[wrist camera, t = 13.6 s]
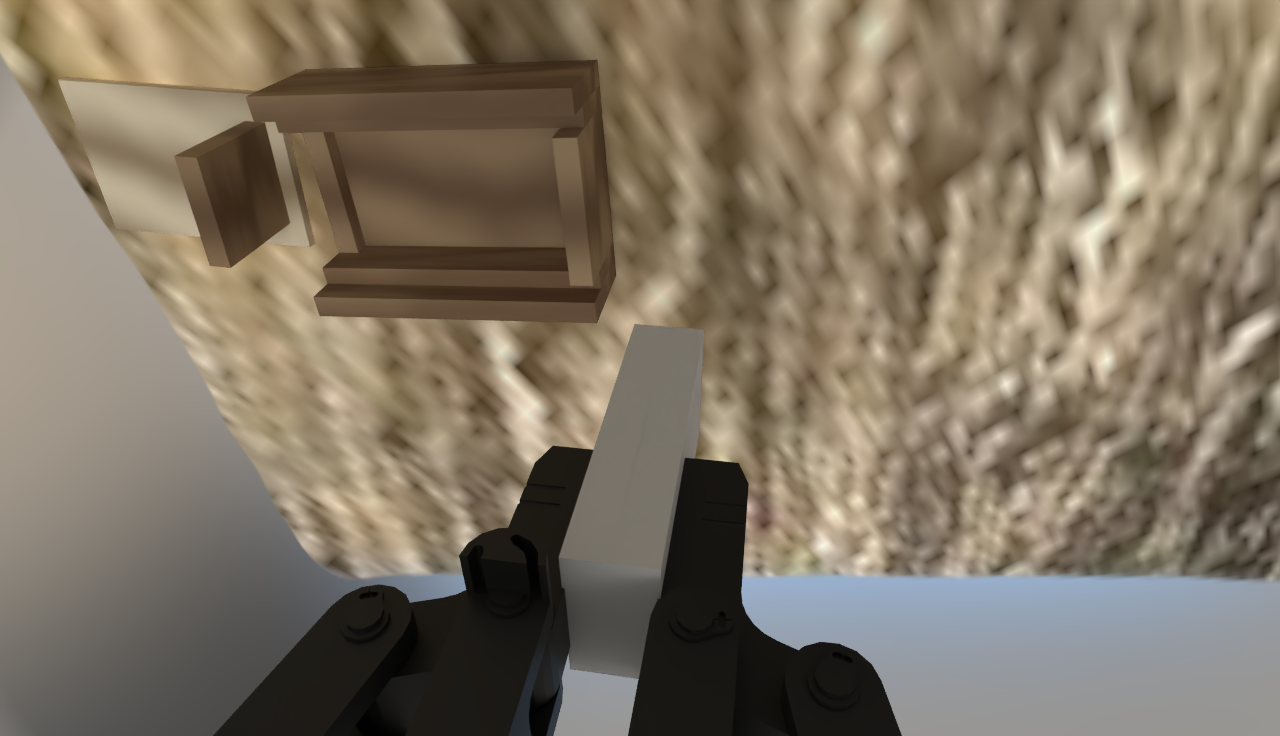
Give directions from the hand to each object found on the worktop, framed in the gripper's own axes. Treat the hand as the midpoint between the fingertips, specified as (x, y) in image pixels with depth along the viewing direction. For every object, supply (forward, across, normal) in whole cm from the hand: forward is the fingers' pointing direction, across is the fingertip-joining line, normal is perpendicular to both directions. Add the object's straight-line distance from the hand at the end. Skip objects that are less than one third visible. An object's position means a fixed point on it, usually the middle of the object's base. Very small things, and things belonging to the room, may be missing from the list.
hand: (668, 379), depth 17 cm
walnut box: (+25, -15, -6) cm, 30 cm away
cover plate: (+26, -32, -6) cm, 41 cm away
